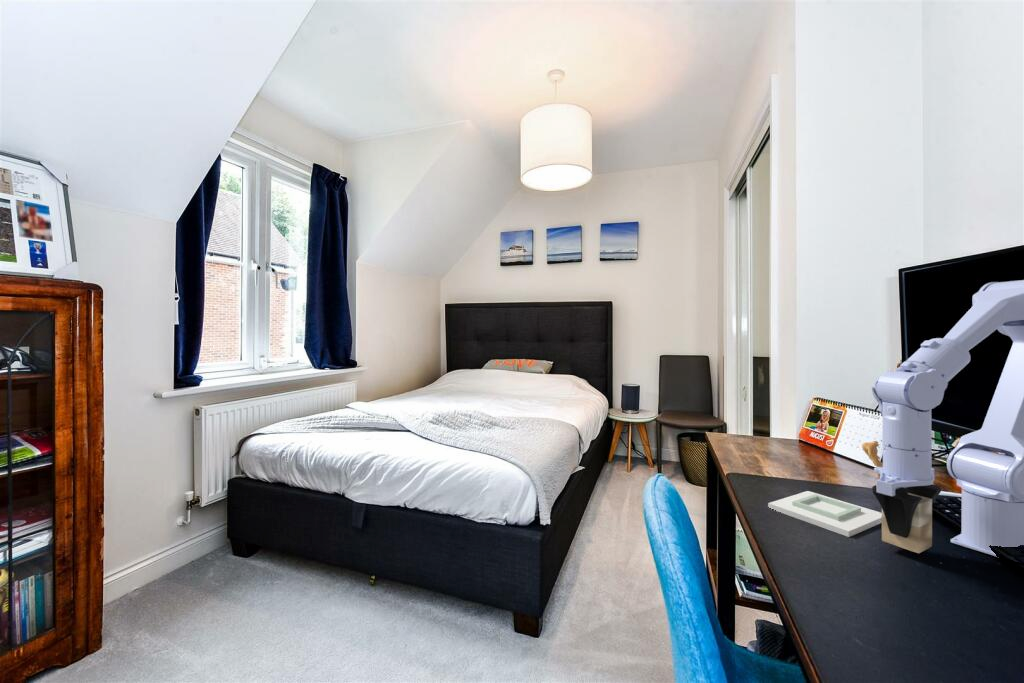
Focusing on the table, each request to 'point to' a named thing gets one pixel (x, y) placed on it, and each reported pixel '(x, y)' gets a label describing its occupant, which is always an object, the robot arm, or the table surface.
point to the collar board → (828, 513)
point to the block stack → (913, 529)
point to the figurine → (873, 453)
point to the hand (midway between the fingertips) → (906, 531)
